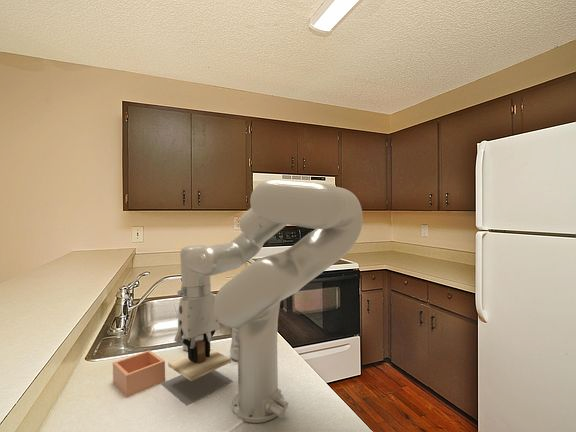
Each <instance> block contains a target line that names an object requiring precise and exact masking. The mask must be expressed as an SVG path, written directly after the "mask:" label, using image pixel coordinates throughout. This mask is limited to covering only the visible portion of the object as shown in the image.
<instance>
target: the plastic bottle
mask: <svg viewBox="0 0 576 432" xmlns="http://www.w3.org/2000/svg"><path fill="white" fill-rule="evenodd" d="M238 330H239V328H231V343H230V347H229V349H230V350H229V353H230V358H231V360H233V361H235V362H238Z"/></svg>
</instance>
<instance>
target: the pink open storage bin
mask: <svg viewBox="0 0 576 432" xmlns="http://www.w3.org/2000/svg"><path fill="white" fill-rule="evenodd" d="M164 382H166V361H165V360H164V359H163V358H161V357H160V356H158V355H157V354H156V353H154V352H153V351H151V350H146V351H144V352H140V353H138V354H134V355H132V356H129V357H126V358H122V359H119V360H117V361H114V362H112V383H113V384H114V385H115V386H116V388H117V389H119V391H121V392H120V393H122V394H123V395H124V396H125V397H126V398H128V397H131V396H133V395H135V394H138V393H140V392H143V391H145V390H147V389H151V388H152V387H154V386H156V385H159V384H161V383H164Z"/></svg>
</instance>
